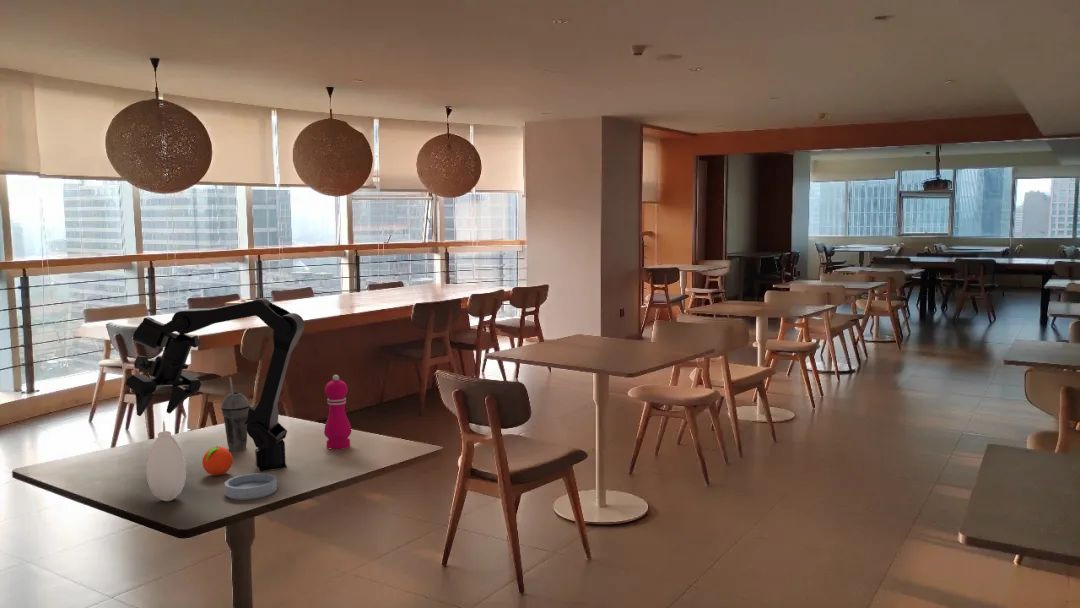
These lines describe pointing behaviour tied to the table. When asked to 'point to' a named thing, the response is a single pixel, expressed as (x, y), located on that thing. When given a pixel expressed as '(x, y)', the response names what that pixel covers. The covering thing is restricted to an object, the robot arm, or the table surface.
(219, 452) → the clementine
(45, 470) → the table surface
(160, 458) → the white tall egg-shaped piece
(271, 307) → the robot arm
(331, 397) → the pepper mill
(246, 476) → the saucer
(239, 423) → the beverage cup
